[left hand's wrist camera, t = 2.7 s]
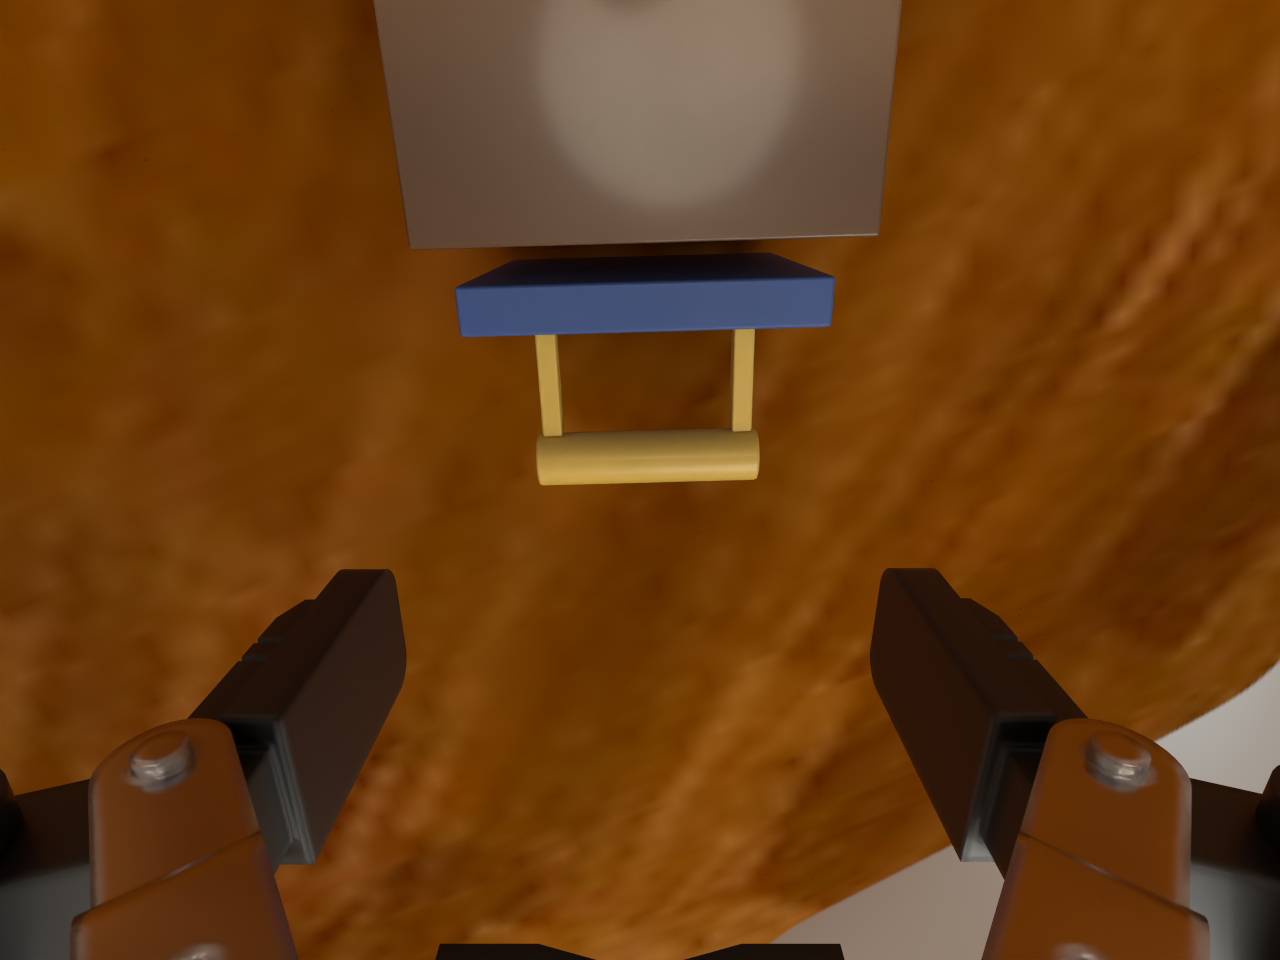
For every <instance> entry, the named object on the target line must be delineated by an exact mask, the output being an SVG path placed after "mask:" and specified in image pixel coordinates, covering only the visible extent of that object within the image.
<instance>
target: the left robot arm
mask: <svg viewBox="0 0 1280 960" xmlns="http://www.w3.org/2000/svg"><path fill="white" fill-rule="evenodd" d="M870 664H871V672H872V677H873V681H874V684H875V687H876V689H877V692H878V694H879V696H880V698H881V700H882V702H883V704H884V706H885V708H886V710H887V712H888V714H889V716H890V718H891V720H892V722H893V724H894V726H895V728H896V730H897V732H898V734H899V737H900V739H901V741H902V743H903V745H904V747H905V749H906V751H907V753H908V755H909V757H910V759H911V761H912V763H913V765H914V767H915V769H916V771H917V773H918V775H919V777H920V779H921V782H922V784H923V786H924V788H925V790H926V792H927V794H928V796H929V798H930V800H931V802H932V804H933V806H934V808H935V810H936V812H937V814H938V816H939V818H940V820H941V822H942V824H943V827H944V829H945V831H946V833H947V835H948V837H949V839H950V841H951V843H952V845H953V847H954V849H955V851H956V853H957V855H958V857H959V859H960V861H961V862H995V863H996V865H997V867H998V869H999V871H1000V873H1001V874H1002V876H1003V878H1004V880H1005V881H1004V884H1003V888H1002V891H1001V895H1000V898H999V901H998V905H997V908H996V912H995V915H994V918H993V922H992V925H991V929H990V932H989V936H988V939H987V942H986V946H985V949H984V953H983V956H982V959H981V960H1280V765H1279V766H1277V767H1276V768H1275V769H1274V770H1273V771H1272V773H1271V776H1270V778H1269V780H1268V782H1267V785H1266V787H1265V789H1264V791H1263V794H1259V793H1255V792H1251V791H1246V790H1242V789H1237V788H1233V787H1228V786H1224V785H1219V784H1215V783H1210V782H1206V781H1201V780H1197V779H1192V778H1189V776H1188V774H1187V773H1186V771H1185V770H1184V768H1183V767H1182V765H1181V764H1180V763H1179V762H1178V761H1177V760H1176V759H1175V758H1174V757H1173V756H1172V755H1171V754H1170V753H1168V752H1167V751H1166V750H1165V749H1163V748H1162V747H1161V746H1159V745H1158V744H1156V743H1155V742H1153V741H1152V740H1150V739H1148V738H1146V737H1145V736H1143V735H1141V734H1139V733H1137V732H1135V731H1132V730H1130V729H1127V728H1125V727H1122V726H1119V725H1116V724H1113V723H1110V722H1105V721H1101V720H1095V719H1088V718H1087V716H1086V715H1085V714H1084V713H1083V712H1082V711H1081V710H1080V708H1079V707H1078V706H1077V705H1076V704H1075V703H1074V702H1073V700H1072V699H1071V698H1070V697H1069V696H1068V695H1067V694H1066V692H1065V691H1064V690H1063V689H1062V688H1061V687H1060V686H1059V684H1058V683H1057V682H1056V681H1055V680H1054V679H1053V678H1052V676H1051V675H1050V674H1049V673H1048V672H1047V671H1046V670H1045V668H1044V667H1043V666H1042V665H1041V664H1040V663H1039V662H1038V660H1033V655H1032V654H1031V652H1030V651H1029V650H1028V649H1027V648H1026V647H1025V646H1024V644H1023V643H1022V642H1018V640H1017V636H1016V635H1015V634H1014V633H1013V632H1012V631H1011V630H1010V628H1009V627H1008V626H1007V625H1006V624H1005V623H1004V622H1003V620H1002V619H1001V618H1000V617H999V616H998V615H996V614H994V613H993V612H991V611H990V610H988V609H986V608H985V607H983V606H982V605H980V604H978V603H977V602H975V601H974V600H972V599H970V598H960V597H959V596H958V595H957V593H956V592H955V591H954V590H953V588H952V587H951V586H950V585H949V584H948V582H947V581H946V580H945V579H944V577H943V576H942V575H941V574H940V572H939V571H938V570H936V569H934V568H888V569H886V570H885V571H884V573H883V575H882V578H881V582H880V588H879V595H878V601H877V608H876V615H875V622H874V628H873V635H872V642H871V649H870ZM405 670H406V647H405V640H404V633H403V627H402V620H401V613H400V607H399V600H398V594H397V587H396V581H395V578H394V575H393V573H392V572H391V571H390V570H388V569H343V570H340V571H339V572H338V573H337V574H336V575H335V576H334V577H333V578H332V580H331V581H330V582H329V583H328V584H327V586H326V587H325V588H324V589H323V591H322V592H321V593H320V594H319V595H318V597H317V598H316V599H315V600H304V601H303V602H301V603H299V604H298V605H296V606H295V607H293V608H291V609H290V610H288V611H287V612H285V613H283V614H282V615H280V616H279V617H277V618H276V619H275V620H274V621H273V622H272V623H271V625H270V626H269V627H268V628H267V629H266V630H265V631H264V633H263V634H262V635H261V636H260V637H259V638H258V642H257V643H254V644H253V645H252V646H251V647H250V648H249V650H248V651H247V652H246V653H245V654H244V655H243V656H242V661H241V662H237V663H236V664H235V665H234V667H233V668H232V669H231V670H230V671H229V672H228V673H227V674H226V676H225V677H224V678H223V679H222V680H221V681H220V682H219V684H218V685H217V686H216V687H215V688H214V689H213V690H212V691H211V693H210V694H209V695H208V696H207V697H206V698H205V699H204V701H203V702H202V703H201V704H200V705H199V706H198V707H197V708H196V710H195V711H194V712H193V713H192V714H191V715H190V716H189V718H188V719H185V720H179V721H175V722H170V723H167V724H164V725H161V726H158V727H155V728H153V729H150V730H148V731H145V732H143V733H141V734H139V735H137V736H135V737H134V738H132V739H130V740H128V741H127V742H125V743H124V744H122V745H121V746H119V747H118V748H117V749H115V750H114V751H113V752H112V753H110V754H109V755H108V756H107V757H106V758H105V759H104V760H103V761H102V762H101V763H100V764H99V765H98V767H97V768H96V770H95V771H94V772H93V774H92V776H91V779H87V780H84V781H79V782H75V783H70V784H66V785H61V786H57V787H52V788H48V789H43V790H39V791H34V792H30V793H25V794H21V795H16V796H14V793H13V791H12V789H11V787H10V784H9V782H8V780H7V778H6V775H5V773H4V772H3V771H2V770H1V769H0V960H299V959H298V956H297V953H296V949H295V946H294V942H293V939H292V936H291V932H290V929H289V925H288V922H287V918H286V915H285V912H284V908H283V905H282V901H281V898H280V895H279V891H278V888H277V884H276V881H275V878H274V874H275V872H276V870H277V868H278V867H279V865H280V864H314V863H315V861H316V859H317V857H318V855H319V853H320V851H321V849H322V847H323V845H324V843H325V841H326V839H327V837H328V835H329V833H330V831H331V829H332V827H333V825H334V823H335V821H336V819H337V817H338V815H339V813H340V811H341V809H342V807H343V805H344V803H345V801H346V799H347V797H348V795H349V793H350V791H351V789H352V787H353V785H354V783H355V781H356V779H357V777H358V775H359V773H360V770H361V768H362V766H363V764H364V762H365V760H366V758H367V756H368V754H369V752H370V750H371V748H372V746H373V744H374V742H375V740H376V738H377V736H378V734H379V732H380V730H381V728H382V726H383V724H384V722H385V720H386V718H387V716H388V714H389V712H390V710H391V708H392V706H393V704H394V702H395V700H396V698H397V696H398V694H399V692H400V689H401V687H402V684H403V681H404V676H405ZM436 960H595V959H591V958H587V957H584V956H580V955H577V954H573V953H569V952H566V951H562V950H559V949H555V948H551V947H548V946H544V945H541V944H440V945H439V949H438V953H437V956H436ZM685 960H844V956H843V953H842V949H841V945H840V944H739V945H736V946H732V947H729V948H725V949H721V950H718V951H714V952H711V953H707V954H703V955H700V956H696V957H693V958H689V959H685Z"/></svg>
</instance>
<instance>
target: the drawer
mask: <svg viewBox="0 0 1280 960" xmlns="http://www.w3.org/2000/svg"><path fill="white" fill-rule="evenodd" d="M834 283H835V279H834V277H833V276H831V275H828V274H826V273H823V272H820V271H818V270H815V269H812V268H809V267H807V266H804V265H801V264H799V263H796V262H793V261H791V260H788V259H785V258H783V257H780V256H777V255H775V254H772V253H740V254H706V255H671V256H637V257H602V258H568V259H533V260H513V261H511V262H509V263H507V264H505V265H503V266H500V267H498V268H496V269H494V270H492V271H490V272H488V273H485V274H483V275H481V276H479V277H477V278H475V279H473V280H470V281H468V282H466V283H464V284H462V285H460V286H458V287H456V288H455V298H456V306H457V314H458V322H459V330H460V334H461V336H463V337H486V336H522V335H535V345H536V357H537V369H538V381H539V392H540V404H541V416H542V428H543V433H541V434H539V435H538V438H537V445H536V465H537V474H538V479H539V482H540V484H541V485H570V484H607V483H644V482H681V481H718V480H754V479H756V478H757V475H758V471H759V459H760V455H759V440H758V434H757V431H756V429H755V428H753V427H751V423H752V394H753V366H754V337H755V329H769V328H804V327H828V326H830V325H831V322H832V309H833V296H834ZM698 330H732V346H731V390H730V427H731V428H714V429H677V430H641V431H605V432H569V433H563V431H564V423H563V409H562V395H561V381H560V368H559V354H558V340H557V334H592V333H628V332H663V331H698Z"/></svg>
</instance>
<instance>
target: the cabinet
mask: <svg viewBox="0 0 1280 960" xmlns="http://www.w3.org/2000/svg"><path fill="white" fill-rule="evenodd" d="M373 2H374V9H375V16H376V23H377V30H378V37H379V44H380V50H381V57H382V64H383V71H384V78H385V85H386V92H387V99H388V106H389V112H390V119H391V126H392V133H393V140H394V147H395V154H396V161H397V168H398V174H399V181H400V188H401V195H402V202H403V209H404V216H405V223H406V230H407V236H408V243H409V248H410V249H412V250H425V249H460V248H494V247H529V246H563V245H597V244H632V243H666V242H700V241H735V240H769V239H804V238H838V237H872V236H878V235H879V231H880V221H881V211H882V200H883V190H884V180H885V169H886V159H887V149H888V138H889V128H890V118H891V108H892V97H893V87H894V77H895V66H896V56H897V46H898V35H899V25H900V15H901V4H902V0H373Z"/></svg>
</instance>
